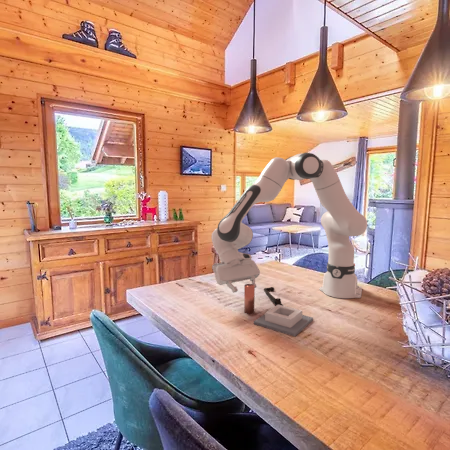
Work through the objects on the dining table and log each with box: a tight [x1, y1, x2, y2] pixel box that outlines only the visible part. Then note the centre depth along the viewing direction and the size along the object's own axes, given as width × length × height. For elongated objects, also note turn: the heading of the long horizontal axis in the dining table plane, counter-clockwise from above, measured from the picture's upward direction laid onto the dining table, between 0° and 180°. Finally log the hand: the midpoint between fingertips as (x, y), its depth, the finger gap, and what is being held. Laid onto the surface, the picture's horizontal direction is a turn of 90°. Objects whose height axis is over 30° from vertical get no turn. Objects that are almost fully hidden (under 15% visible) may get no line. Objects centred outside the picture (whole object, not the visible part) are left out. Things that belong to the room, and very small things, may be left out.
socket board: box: [253, 305, 314, 337], centre depth 111 cm, size 16×16×4 cm
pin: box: [243, 283, 256, 315], centre depth 119 cm, size 4×4×11 cm
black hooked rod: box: [263, 286, 284, 307], centre depth 132 cm, size 5×5×30 cm
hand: (245, 289), depth 121 cm, fingers open, 8 cm apart
